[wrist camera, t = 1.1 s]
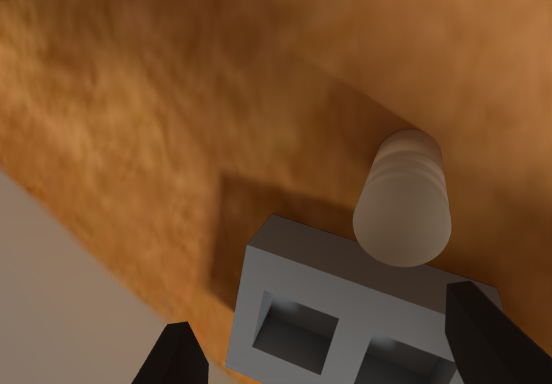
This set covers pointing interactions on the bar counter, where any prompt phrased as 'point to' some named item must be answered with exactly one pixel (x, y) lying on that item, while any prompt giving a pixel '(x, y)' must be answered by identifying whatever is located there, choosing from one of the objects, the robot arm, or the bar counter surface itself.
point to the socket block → (338, 313)
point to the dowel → (404, 202)
